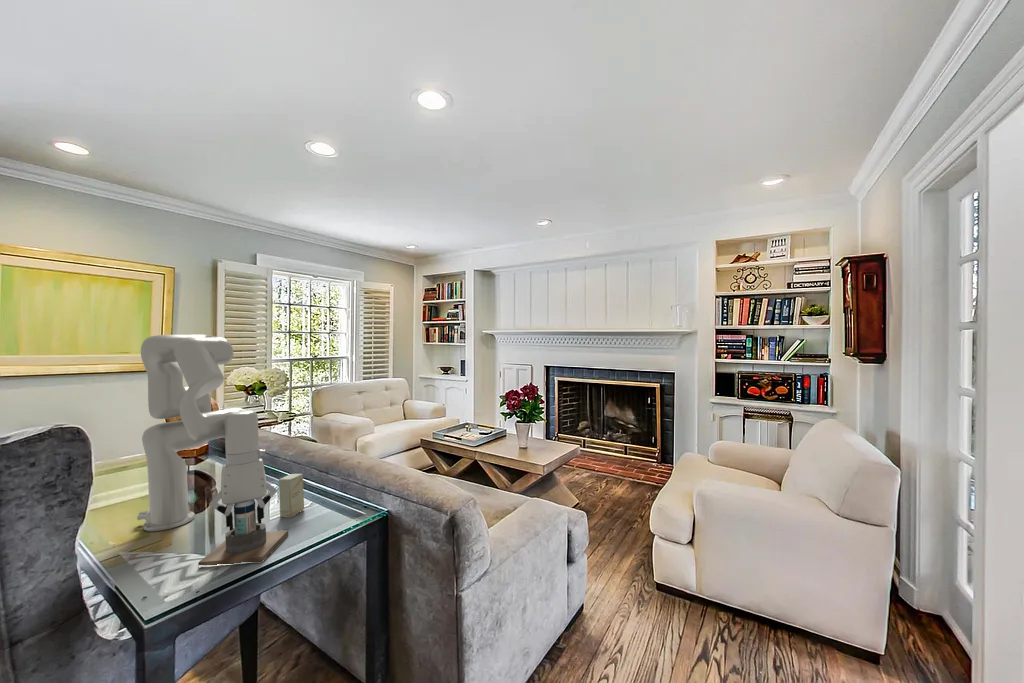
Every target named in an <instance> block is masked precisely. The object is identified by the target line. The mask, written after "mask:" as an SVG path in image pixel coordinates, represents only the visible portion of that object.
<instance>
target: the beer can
mask: <svg viewBox="0 0 1024 683" xmlns="http://www.w3.org/2000/svg"><path fill="white" fill-rule="evenodd" d="M256 517H257V512H256V500H255V499H253V500H249V501H244V502H239V503H235V504H233V518H234V519H233V525H234V528H235V536H243V535H247V534H250V533H253V532H255V531H256V523H257V518H256Z"/></svg>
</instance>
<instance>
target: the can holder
mask: <svg viewBox="0 0 1024 683" xmlns="http://www.w3.org/2000/svg"><path fill="white" fill-rule="evenodd" d="M288 536H289V530H287V529H285V530H275V531H274V530H273V531H267V526H266V524H265V523H264V522H261V523H260V524H259V523H258V522H256V531H255V532H253V533H250V534H247V535H243V536H235V527H233V530H231V531H230V529H229V530H228V531H227V532H226V533H225V535H224V537H225V538H224V539H225V540H224V541H223V542H222V543H220V544H219V545H218V546H217V547H215V548H214V549H212V550H211V551H210V552H209V553H208V554H207V555H205V556H204V557H203V558H202V559H201V560H199V561H198V566H199V565H217V564H234V563H241V562H262V561H263V560H264V559H265V558H266V557H267V556H268V555H269V554H270V553H271V552H272V551H273V550H274V549H275V548H276V547H277V546H278V545H279V544H280V543H281V542H284V540H285V539H286V538H287V537H288ZM281 544H282V543H281ZM281 544H280V545H281ZM280 545H279V546H280ZM279 546H278V547H279ZM278 547H277V548H278ZM277 548H276V549H277ZM276 549H275V550H276ZM275 550H274V551H275ZM274 551H273V552H274ZM273 552H272V553H273ZM272 553H271V554H272ZM271 554H270V555H271ZM270 555H269V556H270ZM269 556H268V557H269ZM268 557H267V558H268ZM267 558H266V559H267ZM266 559H265V560H266Z"/></svg>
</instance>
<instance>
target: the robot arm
mask: <svg viewBox="0 0 1024 683" xmlns="http://www.w3.org/2000/svg"><path fill="white" fill-rule="evenodd" d="M140 358H141V361H142V364H143V367H144V369H145V371H146V375H147V400H148V402H147V407H148V412H149V415H150V416H151V417H152V418H153V419H156V420H164V419H165V420H167V419H173V418H174V419H175V418H180V419H181V420H174V421H168V422H162V423H158V424H155V425H152V426H149V427H148V428H147V429H145V430H144V431H143V433H142V438H141V442H142V446H143V450H144V454H145V458H146V465H147V466H146V468H147V482H148V483H147V485H148V486H147V488H148V510H141V511H139V513H138V516H137V518H136V520H138V521H142V520H145V522H144V524H143V526H142V528H143V530H144V531H145V530H146V532H158V531H166V530H169V529H173V528H177V527H180V526H183V525H185V524H187V523H189V522H192V521H193V520H195V518H196V515H195V514H196V513H195V512H194V511H190V510H189V493H188V492H189V491H188V490H189V489H188V468H187V463H186V461H185V459H184V458H182V457H181V455H179V454H178V453H177V452H180V451H184V450H188V449H193V448H199V447H202V446H205V445H206V444H208V442H210V441H213V440H217V439H223V438H224V442H225V445H224V446H225V464H223V465H222V468H221V476H220V490H219V492H218V493H217V494H216V495H215V496H214V497H213V498H212V500H211V501H210V502H209V504H208V505H209V507H211V508H212V509H213V510H214V509H215V510H216V511H217V512H220V513H221V514H223V515H224V516H225V526H226V527H225V528H229V530H230V531H231V530H233V528H234V519H233V518H234V514H233V512H232V509H233V508H234V504H235V503H239V502H244V501H249V500H253V499H254V500H255V501H256V502H257V506H256V517H257V518H256V521H257V523H259V524H260V523H262V519H264V518H265V513H264V510H265V506H266V505H267V503H269V502H270V500H271V498H273V497H274V496H275V495H276V494H277V493H278V490H277V488H276V487H275V486H273V485H271V484H270V483H269V482H267V479H266V470H265V465H264V461H263V458H261V457H263V456H266V449H260V442H259V441H260V440H259V439H260V438H259V416H258V413H257V411H254V410H248V409H247V410H246V409H244V408H241V407H235V408H234V407H233V408H225V409H218V410H212V400H211V395H210V393H211V392H214V391H215V390H217V389H218V388H220V387H221V385H223V383H224V380H225V376H224V375H223V373H222V371H221V369H220V365H221V366H222V365H227V364H229V363H230V362H232V360H233V358H234V350H233V346H232V344H231V343H230V342H229V341H228V339H227V338H223V337H220V336H216V335H210V334H209V335H208V334H158V335H153V336H149V337H146V338H145V339H144V340H143V341H142V343H141V347H140ZM176 363H177V364H178V365H177V364H176ZM183 379H184V380H185V381H186V384H187V385H188V386H184V380H183ZM267 490H268V493H267ZM220 500H221V503H222V504H220V503H219V501H220Z"/></svg>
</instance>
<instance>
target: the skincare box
mask: <svg viewBox="0 0 1024 683" xmlns="http://www.w3.org/2000/svg"><path fill="white" fill-rule="evenodd" d="M278 494H279V496H278V497H279V517H280V518H293V517H295V516H296V514H297V515H298V513H299V512H300V511H302V510H303V509H304V510H305V494H304V474H303V473H290V474H288V475H285V476H283V477H280V478H278ZM302 512H303V511H302ZM300 513H301V512H300ZM300 513H299V514H300Z"/></svg>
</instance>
